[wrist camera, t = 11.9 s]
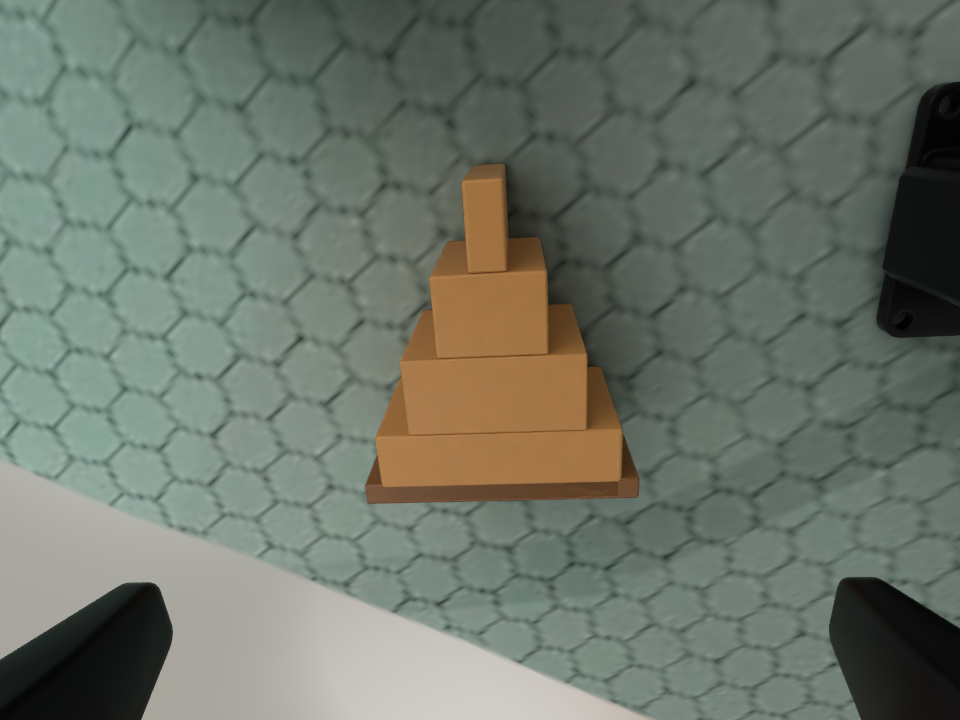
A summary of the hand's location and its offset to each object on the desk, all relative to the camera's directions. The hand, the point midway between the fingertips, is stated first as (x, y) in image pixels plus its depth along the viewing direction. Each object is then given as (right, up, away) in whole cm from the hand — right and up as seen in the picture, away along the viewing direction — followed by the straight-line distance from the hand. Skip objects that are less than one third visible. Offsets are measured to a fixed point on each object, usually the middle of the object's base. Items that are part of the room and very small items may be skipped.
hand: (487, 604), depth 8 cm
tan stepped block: (0, +5, +10) cm, 11 cm away
